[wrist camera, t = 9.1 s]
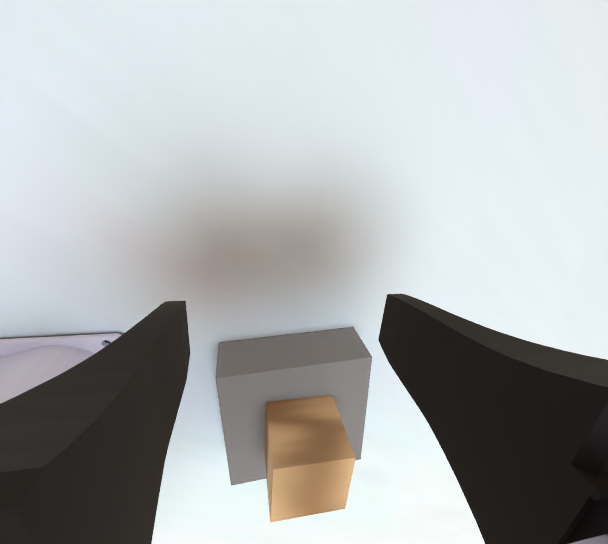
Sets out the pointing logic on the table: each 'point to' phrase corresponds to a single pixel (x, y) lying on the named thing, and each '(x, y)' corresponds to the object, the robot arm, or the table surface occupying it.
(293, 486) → the oak cube
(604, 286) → the table surface
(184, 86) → the table surface
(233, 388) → the gray block
